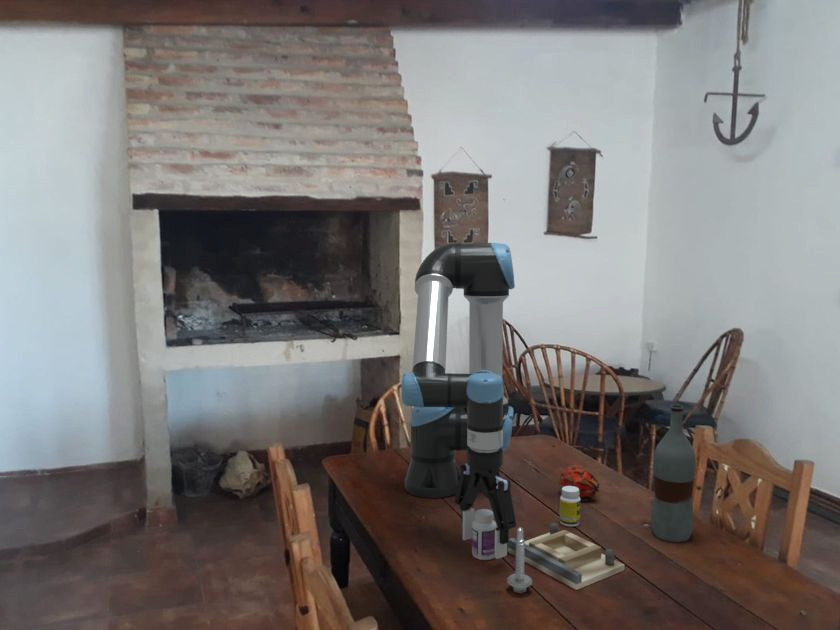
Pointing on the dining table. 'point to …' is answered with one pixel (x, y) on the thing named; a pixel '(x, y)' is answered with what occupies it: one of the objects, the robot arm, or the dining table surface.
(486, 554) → the pill bottle
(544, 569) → the jig
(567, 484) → the dragon fruit
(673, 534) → the vodka
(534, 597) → the dining table surface
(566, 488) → the supplement bottle
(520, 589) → the screw
